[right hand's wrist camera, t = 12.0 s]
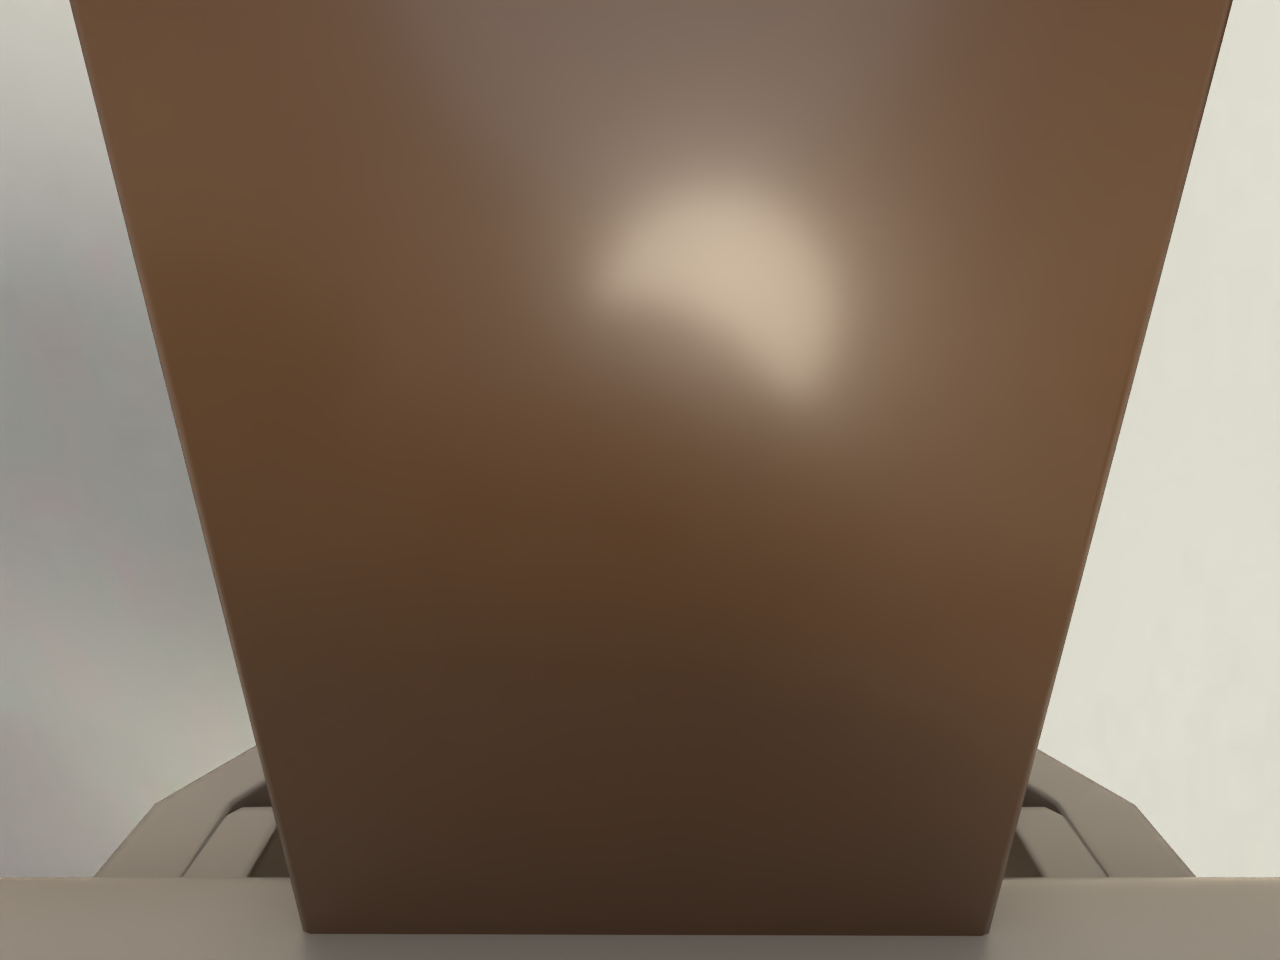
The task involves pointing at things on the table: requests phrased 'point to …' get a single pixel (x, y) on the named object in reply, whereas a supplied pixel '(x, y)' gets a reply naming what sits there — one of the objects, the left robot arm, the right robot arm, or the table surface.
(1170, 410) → the table surface
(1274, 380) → the table surface
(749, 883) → the bar
